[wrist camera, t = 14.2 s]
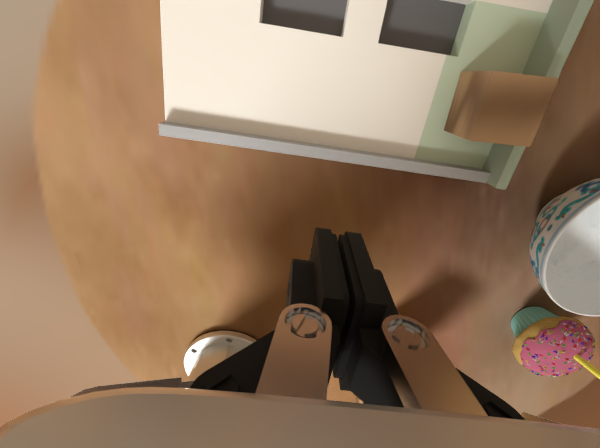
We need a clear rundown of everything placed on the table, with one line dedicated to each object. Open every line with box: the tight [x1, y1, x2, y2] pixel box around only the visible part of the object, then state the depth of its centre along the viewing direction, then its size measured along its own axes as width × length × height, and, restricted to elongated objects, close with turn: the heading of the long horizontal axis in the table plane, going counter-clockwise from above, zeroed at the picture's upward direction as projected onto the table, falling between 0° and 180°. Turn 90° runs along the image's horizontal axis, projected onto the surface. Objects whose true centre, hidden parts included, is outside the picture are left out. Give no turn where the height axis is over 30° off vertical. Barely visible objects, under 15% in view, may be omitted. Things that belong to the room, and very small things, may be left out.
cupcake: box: [511, 306, 600, 379], centre depth 36 cm, size 9×8×12 cm
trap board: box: [159, 0, 594, 190], centre depth 26 cm, size 15×32×5 cm, turn 82°
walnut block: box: [444, 71, 560, 147], centre depth 26 cm, size 5×5×5 cm
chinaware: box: [530, 178, 600, 316], centre depth 32 cm, size 15×15×8 cm
